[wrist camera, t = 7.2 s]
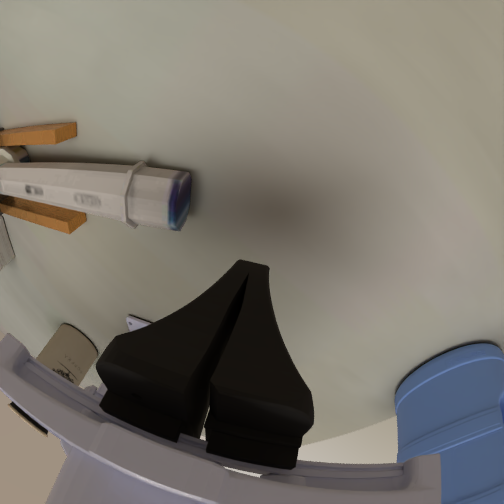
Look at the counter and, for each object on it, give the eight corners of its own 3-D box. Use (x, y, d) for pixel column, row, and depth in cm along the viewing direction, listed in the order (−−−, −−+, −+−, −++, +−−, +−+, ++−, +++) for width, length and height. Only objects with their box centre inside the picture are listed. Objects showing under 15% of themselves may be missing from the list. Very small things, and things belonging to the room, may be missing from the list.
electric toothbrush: (173, 253, 18) (-31, 210, 17) (197, 207, 23) (6, 183, 22) (175, 176, 15) (-40, 165, 14) (203, 147, 20) (1, 142, 19)
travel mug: (77, 350, 41) (31, 425, 26) (54, 319, 37) (-2, 397, 22) (106, 360, 39) (57, 445, 24) (82, 326, 34) (20, 418, 20)
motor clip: (87, 223, 23) (52, 252, 19) (5, 202, 25) (-21, 220, 20) (75, 119, 17) (30, 135, 13) (-6, 129, 19) (-37, 144, 15)
